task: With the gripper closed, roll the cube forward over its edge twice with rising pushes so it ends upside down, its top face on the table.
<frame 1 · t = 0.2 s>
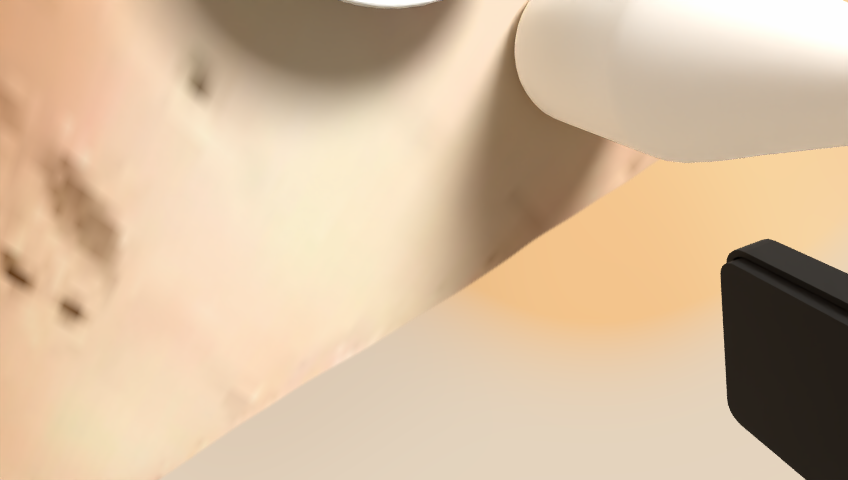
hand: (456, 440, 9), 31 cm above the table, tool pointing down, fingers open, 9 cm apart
wine bottle: (577, 44, 41), on the table
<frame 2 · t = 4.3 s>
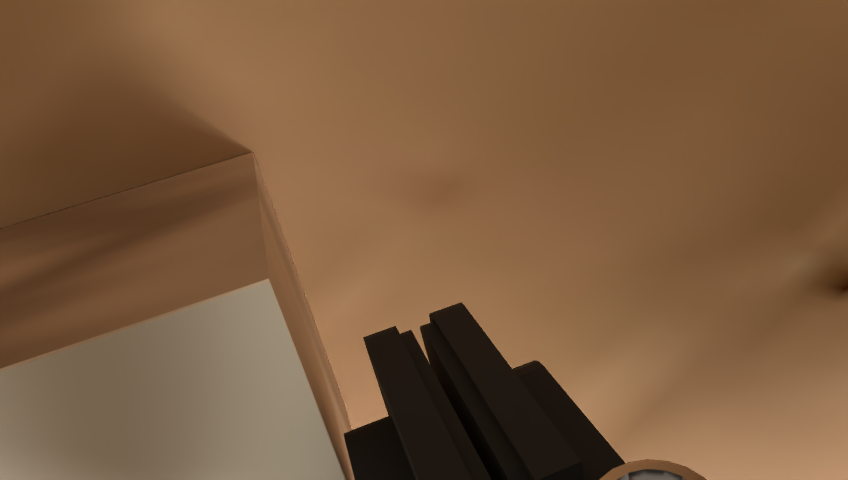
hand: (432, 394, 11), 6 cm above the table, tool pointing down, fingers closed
cube: (155, 340, 15), on the table, touching gripper
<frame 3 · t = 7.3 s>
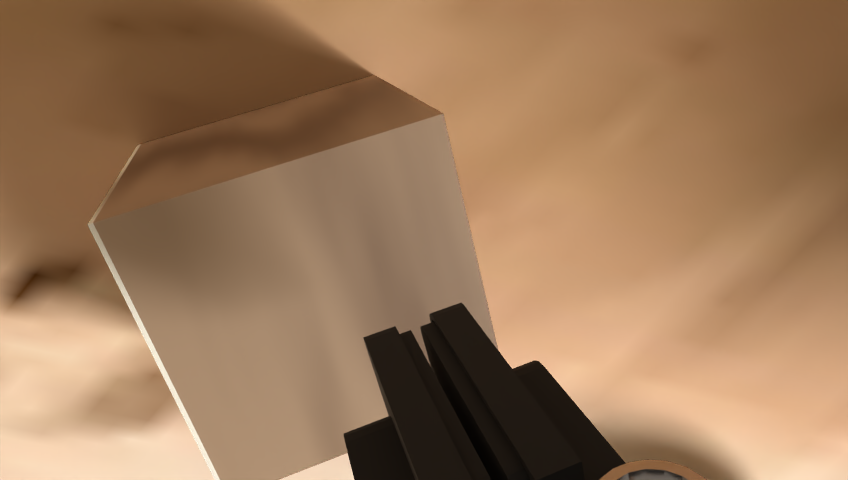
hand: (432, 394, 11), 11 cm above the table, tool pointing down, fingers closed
cube: (434, 216, 17), point 3 cm above the table, tilted 90°
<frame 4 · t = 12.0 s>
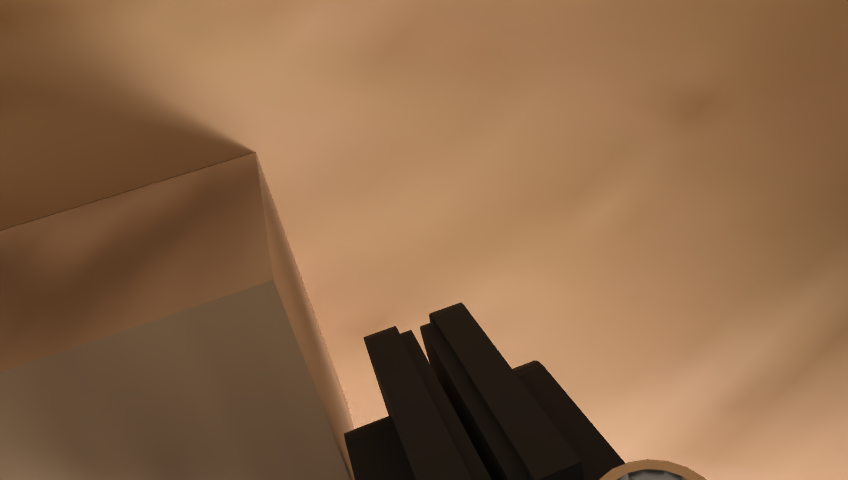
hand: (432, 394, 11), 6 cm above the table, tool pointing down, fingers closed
cube: (324, 364, 12), point 3 cm above the table, tilted 90°, touching gripper
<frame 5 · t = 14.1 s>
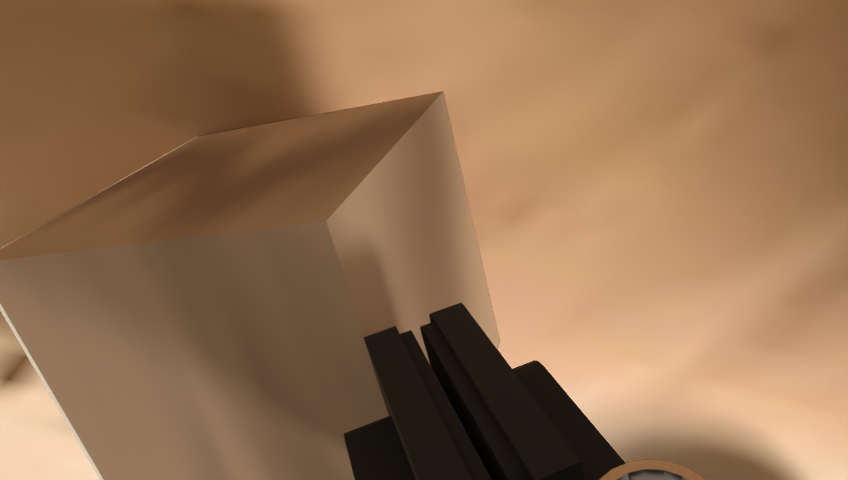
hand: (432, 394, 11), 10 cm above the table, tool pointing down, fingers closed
cube: (441, 300, 13), point 7 cm above the table, tilted 121°, touching gripper
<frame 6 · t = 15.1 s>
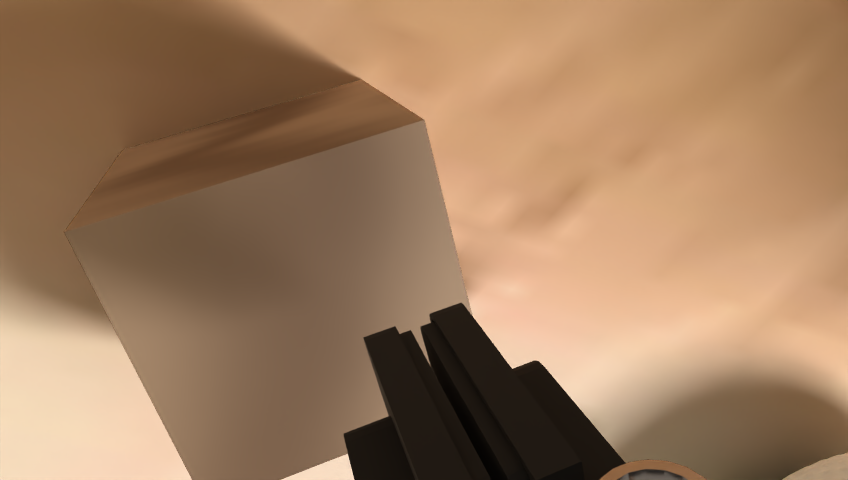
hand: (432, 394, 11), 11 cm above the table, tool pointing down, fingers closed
cube: (308, 326, 14), point 7 cm above the table, tilted 180°
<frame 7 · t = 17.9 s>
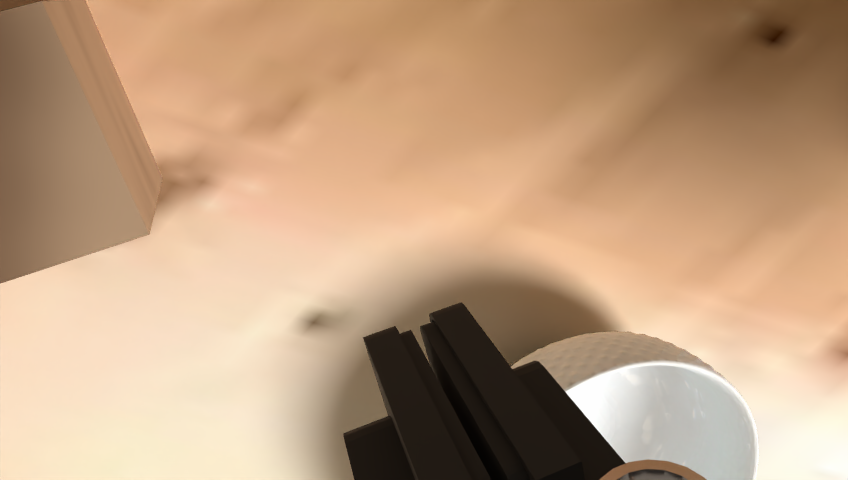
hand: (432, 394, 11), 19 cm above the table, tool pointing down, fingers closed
cereal bowl: (546, 425, 37), on the table
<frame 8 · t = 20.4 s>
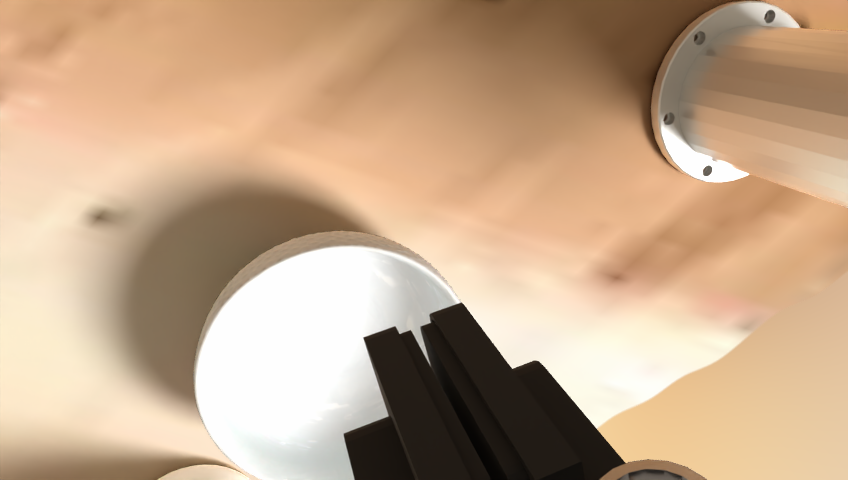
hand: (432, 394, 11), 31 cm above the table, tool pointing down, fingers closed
cereal bowl: (327, 323, 45), on the table
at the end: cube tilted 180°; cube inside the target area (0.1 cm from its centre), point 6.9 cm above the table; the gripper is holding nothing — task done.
